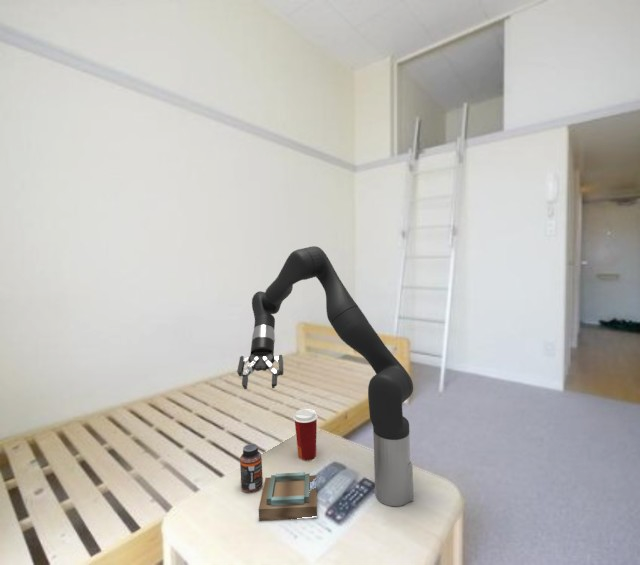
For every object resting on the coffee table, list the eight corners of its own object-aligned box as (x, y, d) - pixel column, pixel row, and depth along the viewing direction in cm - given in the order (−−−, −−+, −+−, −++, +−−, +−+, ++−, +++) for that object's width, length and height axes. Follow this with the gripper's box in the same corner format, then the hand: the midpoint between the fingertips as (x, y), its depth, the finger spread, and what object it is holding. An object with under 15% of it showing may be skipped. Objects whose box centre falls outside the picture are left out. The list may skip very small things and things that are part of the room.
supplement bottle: (258, 494, 92) (256, 454, 91) (237, 492, 93) (235, 452, 93) (266, 480, 98) (264, 442, 97) (246, 478, 99) (244, 440, 98)
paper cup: (323, 452, 111) (322, 410, 110) (310, 465, 104) (308, 420, 103) (303, 446, 115) (302, 405, 114) (290, 458, 109) (288, 415, 108)
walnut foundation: (316, 485, 95) (316, 470, 95) (317, 518, 83) (316, 500, 83) (266, 488, 95) (265, 472, 94) (259, 521, 83) (258, 503, 82)
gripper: (239, 336, 113) (233, 383, 102) (283, 334, 113) (281, 381, 102) (243, 348, 118) (238, 393, 108) (285, 346, 118) (283, 391, 108)
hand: (259, 387), depth 105 cm, fingers open, 8 cm apart
